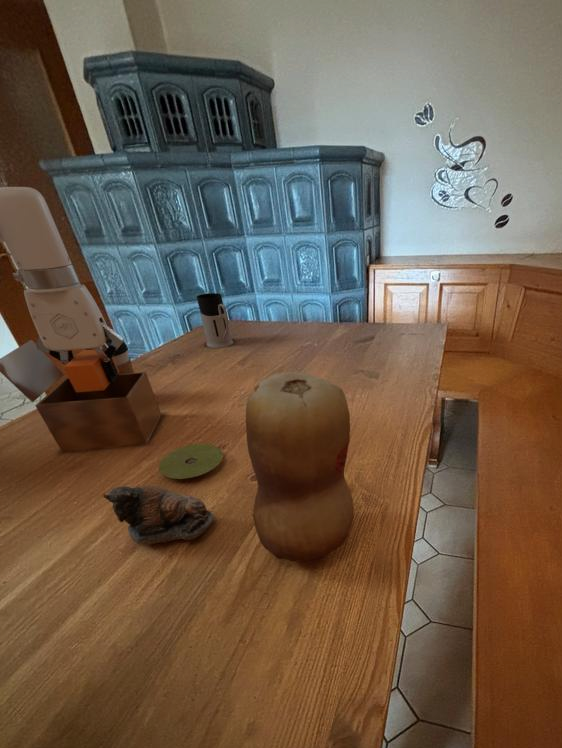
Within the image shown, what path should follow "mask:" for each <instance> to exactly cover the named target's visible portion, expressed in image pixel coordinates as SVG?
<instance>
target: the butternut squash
mask: <svg viewBox="0 0 562 748" xmlns="http://www.w3.org/2000/svg"><path fill="white" fill-rule="evenodd" d="M350 413H351V412H350V410H349V404H348V402H347V398H346V395H345V392H344V390H343V389H342V388H341V387H340V386H338V385H335V384H333V383H332V382H330V380H327V379H325V378H322V377H318V376H315V375H312V374H309V373H305V372H295V371H286V372H279V373H276V374H274V375H273V376H270V377H267V378H265V379H263V380H261V381H260V382H259V383H257V384H256V385H255V387H254V388H253V389H252V391H251V392H250V394H249V396H248V398H247V402H246V406H245V433H246V434H245V435H246V445H247V451H248V457H249V459H250V462H251V465H252V470H253V472H254V476H255V479H256V483H257V491H256V495H255V498H254V505H253V513H252V517H253V523H254V528H255V531H256V533H257V536H258V539H259V542H260V544H261V545H262V547H263V548H264V549H265V550H267V552H269V553H270V554H272V555H273V556H274V557H275V558H277V559H279V560H287V561H290V562H307V561H311V560H314V559H319V558H323V557H324V556H326V555H329V554H330V553H332V552H334V551H336V550H337V549H338V548H340V547H341V546H342V545H343V544H344V542H345V541H346V540H347V538H348V536H349V534H350V529H351V527H352V524H353V519H354V511H355V509H354V501H353V496H352V491H351V488H350V487H349V484H348V482H347V480H346V477H345V468H346V463H347V458H348V453H349V446H350V439H351V436H350V434H351V418H350V417H351V416H350V415H351V414H350Z"/></svg>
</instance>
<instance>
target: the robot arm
mask: <svg viewBox="0 0 562 748" xmlns="http://www.w3.org/2000/svg"><path fill="white" fill-rule="evenodd" d="M3 242H4V244H5V245H6V247H7V249H8V251H9V254H10V256H11V257H12V259H13V261H14V263H15V265H16V267H17V272H13V273H12V275H13V279H14V280H15V281H16V282H22V283H24V284H23V285H25V287H26V288H27V289H25V290H23V294H24V295H23V296H24V299H25V302H26V306H27V309H28V312H29V314H30V316H31V320H32V322H33V325H34V327H35V329H36V332H37V334H38V339H37V343H36V347H37V348H38V349H39V350H41V351H43V352H44V354H47V355H50V356H51V357H52V358H54V359H56V360H58V361H59V362H60V363H61V364H62V365H64V366H65V365H66V364H67V363H68V362H70V361H71V360H72V359H73V358H74V357H75V353H74V351H79V350H81V351H83V350H85V349H94V350H95V351H96V353H97V354H98V355H99V356H100V358H101V359H102V361H103V362H102V363H101V365H102V367H103V370H104V372H105V374H106V376H107V379H108V381H109V382H114V381H115V379H116V378H117V377H118V376H117V375H118V371H117V368H116V366H115V364H114V361H113V359H112V357H113V356H114V354H115V352H116V351H117V349H118V348H119V346H120V345H121V344H122V343H123V342H125V339H124V337H122V336H121V335H120V334H118V333H117V332H116V331H114V330H113V329H112V328H111V327H109V326H108V325H107V322H106V320H105V318H104V315H103V314H102V312H101V310H100V308H99V305H98V304H97V302H96V301H95V299H94V297H93V295H92V294H91V292H90V291H89V289H88V287H86V284H81V282H80V280H79V277H78V275H77V273H76V270H75V268H74V266H73V264H72V261H71V259H70V256H69V254H68V251H67V249H66V247H65V244H64V242H63V239H62V236H61V234H60V232H59V230H58V228H57V224H56V223H55V220H54V218H53V216H52V213H51V210H50V208H49V206H48V203H47V201H46V199H45V197H44V196H43V195H42V194H41V192H40V191H38V190H37V189H36V188H33V187H29V186H0V243H3ZM109 339H111V340H112V343H111V345H110V346H109V347H108V346H107V344H106V343H105V342H106V341H108V340H109Z"/></svg>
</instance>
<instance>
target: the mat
mask: <svg viewBox="0 0 562 748" xmlns="http://www.w3.org/2000/svg"><path fill="white" fill-rule="evenodd" d="M223 458H224V454H223V451H222V450H221V449H220V448H219V447H217V446H216V445H214V444H213V445H212V444H208V443H195V444H190V445H184V446H181V447H178V448H177V449H174V450H172V451H171V452H169V453H167V454H166V455H165V456H164V457H162V459H161V460H160V462H159V463H158V471H159V473H160V474H161V475H162V476H164V477H167V478H170V479H175V480H176V479H178V480H183V479H189V478H195V477H200V476H202V475H205V474H207V473H209V472H210V471H212V470H214V469H215V468H217V467H218V466H219V465H220V464H221V462H222V460H223Z"/></svg>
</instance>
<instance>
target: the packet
mask: <svg viewBox="0 0 562 748" xmlns="http://www.w3.org/2000/svg"><path fill="white" fill-rule="evenodd" d="M112 359H113V361H114V358H113V357H112ZM102 362H103V361H102V359H101V358H100V356H99V355H98V354H97V353H96V351H95V350H85V349H82V350H81V351H80V352H79V353H78V354H76V355H75V356H74V358H73V359H72V360H71V361H70V362H68V363H67V364H66V365H64V366H62V367H63V370H64V371H65V373H66V375H67V378H69V379H70V381H71V383H72V385H73V387H74V389H75V391H76V393H77V392H89V391H100V390H105V389H106V388H107V386H108V385H109V384H110V383H111V382H109V381H108V379H107V376H106V374H105V372H104V370H103V367H102V365H101V363H102ZM114 364H115V366H116V368H117V365H116V363H115V361H114ZM117 371H118V373H119V370H118V368H117Z"/></svg>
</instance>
